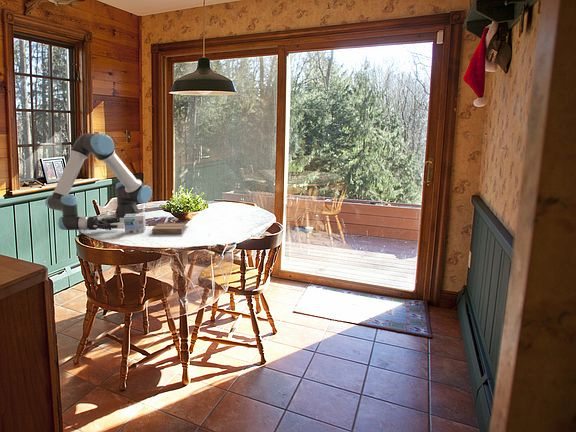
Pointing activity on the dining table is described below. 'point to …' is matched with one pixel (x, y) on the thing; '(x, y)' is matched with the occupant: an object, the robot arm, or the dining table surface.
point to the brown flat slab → (168, 234)
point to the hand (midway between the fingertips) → (127, 223)
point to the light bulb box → (134, 223)
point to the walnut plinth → (169, 228)
